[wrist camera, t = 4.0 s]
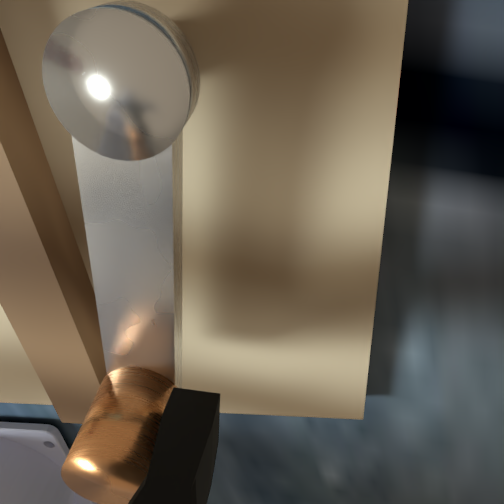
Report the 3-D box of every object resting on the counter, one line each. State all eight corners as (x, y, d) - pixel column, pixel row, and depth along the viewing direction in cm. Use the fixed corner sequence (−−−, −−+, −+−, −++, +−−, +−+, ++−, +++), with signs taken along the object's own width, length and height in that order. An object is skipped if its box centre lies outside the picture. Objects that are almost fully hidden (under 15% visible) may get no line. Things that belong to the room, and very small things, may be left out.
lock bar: (192, 398, 13) (163, 514, 11) (113, 386, 13) (64, 499, 11) (202, 9, 7) (139, 50, 5) (59, -8, 7) (-83, 23, 5)
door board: (360, 396, 17) (367, 462, 15) (-70, 378, 19) (-117, 433, 17) (410, -117, 8) (444, -135, 6) (-372, -36, 11) (-540, -30, 9)
